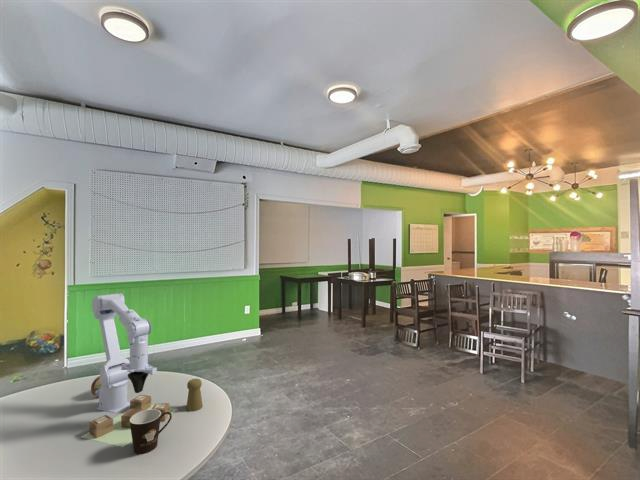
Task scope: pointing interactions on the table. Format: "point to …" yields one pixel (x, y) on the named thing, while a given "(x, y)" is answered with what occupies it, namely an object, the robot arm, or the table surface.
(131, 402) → the tile block
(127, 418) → the plain block
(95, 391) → the tin
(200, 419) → the table surface
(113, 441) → the mat
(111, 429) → the tile block
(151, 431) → the coffee mug
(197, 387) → the cork
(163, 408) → the tile block
